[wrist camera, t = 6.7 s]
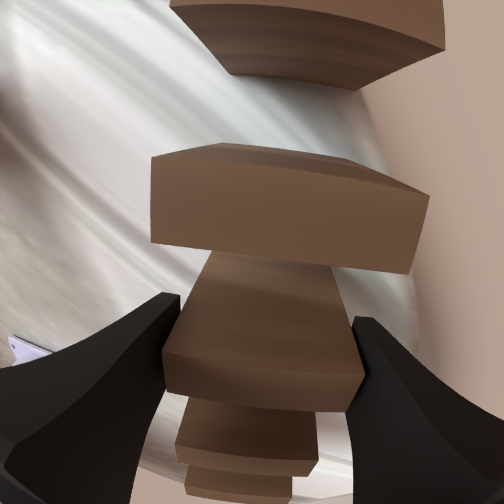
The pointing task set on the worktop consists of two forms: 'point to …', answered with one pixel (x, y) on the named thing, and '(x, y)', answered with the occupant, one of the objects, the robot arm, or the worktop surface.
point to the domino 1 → (317, 36)
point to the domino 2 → (285, 207)
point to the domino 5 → (238, 486)
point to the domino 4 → (247, 439)
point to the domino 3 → (264, 337)
